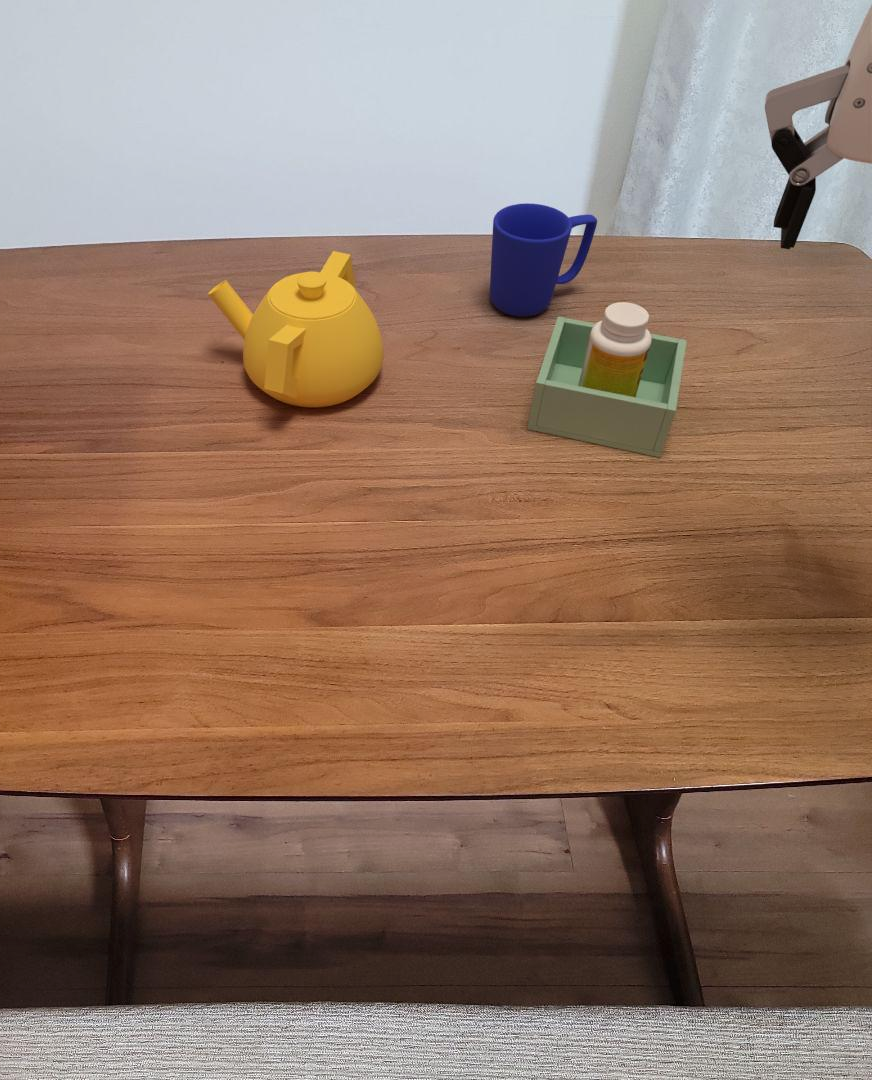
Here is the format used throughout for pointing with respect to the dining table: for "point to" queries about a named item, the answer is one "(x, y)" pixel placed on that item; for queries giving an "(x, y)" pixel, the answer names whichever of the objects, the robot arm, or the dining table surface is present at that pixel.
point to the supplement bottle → (617, 350)
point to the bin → (606, 394)
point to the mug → (533, 256)
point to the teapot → (308, 336)
